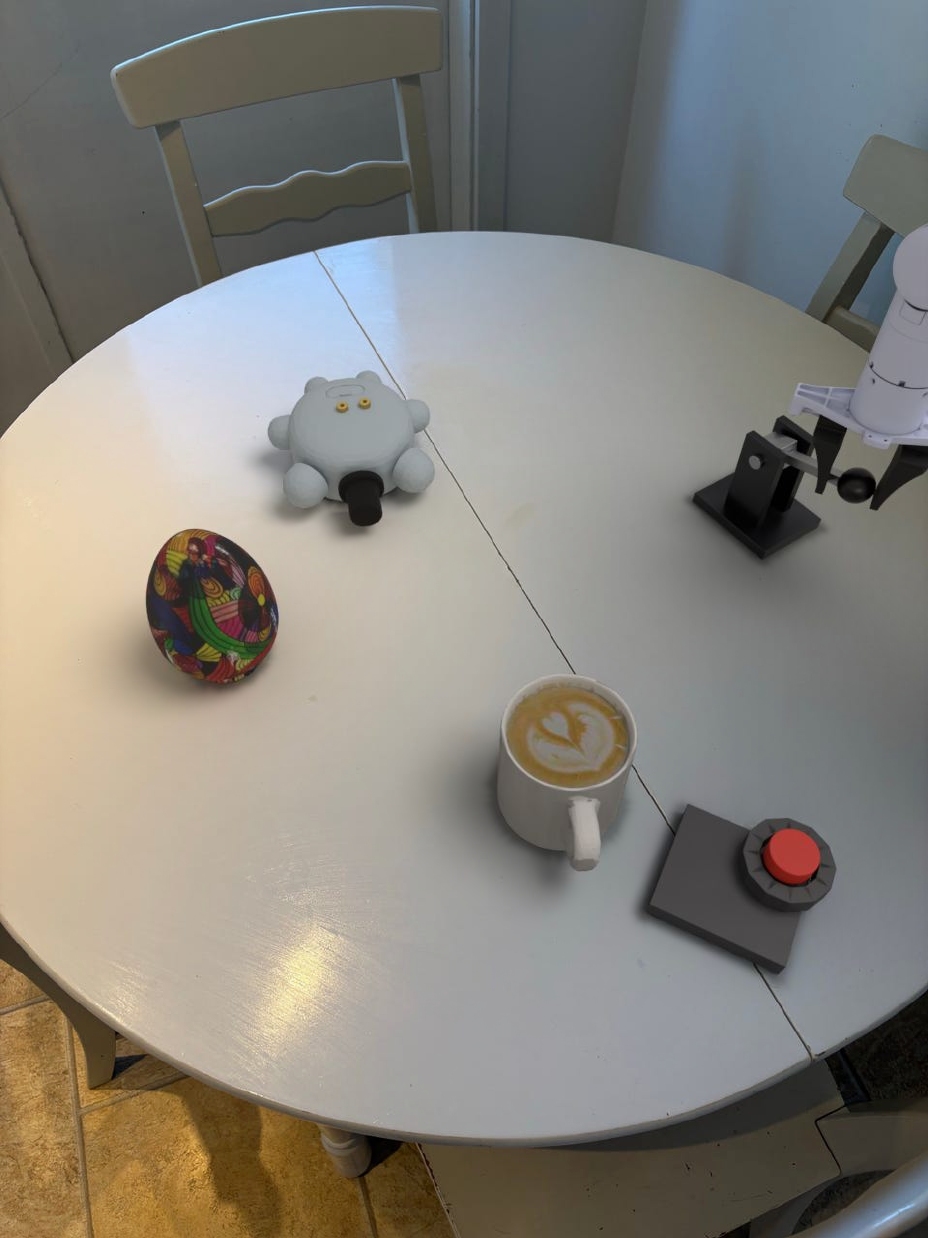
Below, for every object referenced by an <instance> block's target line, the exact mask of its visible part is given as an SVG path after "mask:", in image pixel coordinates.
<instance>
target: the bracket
mask: <svg viewBox="0 0 928 1238" xmlns="http://www.w3.org/2000/svg"><path fill="white" fill-rule="evenodd" d="M774 431H775V432H778V433H780V434H783V435H785V436H787V437H790V438H792V439H795V440H797V450H796V451H798V452H800V453H802V454H805V455H807V456H809V457H812V455H813V453H814V451H815V448H814V445H813V434H811V433H810V432H808V431H807V430H806V429H804V428H803V427H802V426H800V425H798V424H797V423H795V422H794V421H793V420H792V419H790V418H789V417H788V416H786V415H785V414H783V415H780V416H778V417H777V418H776V419H775V421H774V424H773V428H772V430H771V433H772V432H774ZM787 456H788V455H786V454H785V453H784V452H782V451H781V450H780V449H778V448H777V447H776V446H774V445H773V444H772V443H770V442H769V441H768V440H766V439H765V438H764V436H762V434H760V433H758V432H757V430H754V429H753V430H751V431H748V432H747V433H746V434H745V437H744V441H743V443H742V446H741V450H740V452H739V456H738V459H737V461H736V462H737V463H736V466H735V469H734V471H733V472H731V473H730V474H728V475H726V476H724V477H722V478H720V479H718V480H717V481H714V482H713V483H710V484H709V485H707V486H705V487H703V488H701V489H699V490H697V491H696V492H694V494H693V498H692V502H693V503H694V504H695V505H697V506H698V507H699V508H700V509H701V510H703V511H704V512H705V514H707V515H709V516H710V517H711V518H712V519H714V521H716V522H717V523H718V524H719V525H721V526H722V527H723V528H724V529H725V530H726V531H728V532H729V534H731V535H732V536H733V537H734V538H736V539H737V540H738V541H739V542H740V543H742V545H744V546H745V547H746V548H747V549H749V550H750V551H751V552H752V553H753V554H754V555H755V556H757V557H758V558H760V560H764V559H766V558H767V557H769V556H771V555H773V554H774V553H776V552H778V551H780V550H781V549H783V548H785V547H787V546H788V545H790V544H791V543H794V542H795V541H797V540H798V539H800V538H803V536H805V535H807V534H809V533H810V532H813V530H816V529H817V528H819V526H820V523H821V521H822V518H821V517H820V516H818V515H817V514H816V513H815V512H813V511H811V510H810V509H809V508H808V507H806V505H804V504H803V503H802V502H800V501H799V500H798V499H796V495H797V493H798V490H799V488H800V485H801V483H802V480H803V478H804V475H805V473H806V472H804V471H802V470H800V469H797V468H795V467H793V466H791V465H790V466H788V467H786V468H784V469H783V467H784V465H785V462H786V459H787Z"/></svg>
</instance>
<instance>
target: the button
mask: <svg viewBox="0 0 928 1238" xmlns="http://www.w3.org/2000/svg"><path fill="white" fill-rule="evenodd" d="M763 859H764V863H765V866H766V868H767V870H768V871H769V872H770V874H771V875H772V876H773V877H775V878H776V879H777V880H779V881H781V882H783V883H786V884H792V885H796V884H801V883H803V882H805V881H807V880H808V879H809V878H810V879H811V876H812V874H813V873H814V871H815V870H816V869H817V867H818V866H819V863H820V852H819V849H818V847H817V845H816V843H815V842H814V841H813V840H812V838H810V837H809V836H808V835H807V834H805V833H803V832H801V831H799V830H795V829H783V830H780V831H778V832H776V833H775V834H774V835H773V836H772V838H771V839H770V841H769V842H768V844H767V846H766V847H765V850H764V853H763Z"/></svg>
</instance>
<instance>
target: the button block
mask: <svg viewBox="0 0 928 1238" xmlns="http://www.w3.org/2000/svg"><path fill="white" fill-rule="evenodd" d="M783 829H795V830H799V831H801V832H803V833H805V834H807V835H808V836H809V837H810V838H812V840H813V841H814V842H815V843H816V845H817V847H818V849H819V852H820V863H819V866H818V867H817V869H816V870H815V871H814V873H813V874H812V875H811V877H810V878H809V879H808V880H807V881H805V882H803V883H801V884H796V885H792V884H786V883H783V882H781V881H779V880H777V879H776V878H775V877H773V876H772V875H771V874H770V872H769V871H768V870H767V868H766V866H765V863H764V859H763V853H764V850H765V847H766V846H767V844H768V842H769V841H770V839H771V838H772V836H773V835H774V834H775V833H776V832H778V831H780V830H783ZM836 872H837V865H836V863H835V859H834V857H833V854H832V851H831V848H830V846H829V844H828V843H827V842H826V841H825V840H824V839H823V838H822V836H820V835H819V834H818V833H817V831H815V829H814V828H813V827H811V826H810V825H809V826H808V825H807V824H804V823H801V822H799V821H797V820H794V819H792V818H789V817H781V818H780V817H779V818H766V819H764V820H762V821H761V822H759V823H758V824H757V825H755V826H754V827H753V828H751V829H749V828H747V827H744V826H743V825H740V824H737V823H735V822H732V821H731V820H728V819H725V818H724V817H721V816H718V815H716V814H714V813H711V812H709V811H707V810H704V809H701V808H699V807H698V806H695V805H692V804H690V803H687V804H686V807H685V809H684V811H683V814H682V816H681V819H680V822H679V824H678V827H677V830H676V831H675V835H674V837H673V840H672V843H671V844H670V848H669V851H668V853H667V855H666V857H665V861H664V864H663V865H662V869H661V871H660V874H659V877H658V879H657V882H656V884H655V887H654V890H653V892H652V895H651V898H650V901H649V903H648V905H647V908H646V911H645V912H646V913H647V914H649V915H651V916H654V917H656V918H657V919H660V920H662V921H664V922H666V923H668V924H671V925H672V926H675V927H677V928H680V929H681V930H683V931H685V932H687V933H689V934H692V935H694V936H696V937H698V938H700V939H702V940H705V941H707V942H709V943H711V944H713V945H714V946H717V947H718V948H719V947H720V948H722V949H724V950H726V951H728V952H730V953H733V954H734V955H737V956H739V957H741V958H743V959H745V960H747V961H750V962H752V963H753V964H756V965H758V966H759V967H760V966H761V967H763V968H765V969H766V970H768V971H771V972H773V973H775V974H777V975H780V974H781V973H782V972H783V970H784V969H785V968H786V967H787V964H788V959H789V957H790V952H791V948H792V945H793V942H794V938H795V935H796V932H797V927H798V924H799V919H800V915H801V912H807V911H809V910H811V908H813V907H814V906H816V905H817V904H818V903H819V902H821V901H822V900H823V899H825V897H826V896H827V895H828V894H829V893H830V892H831V890H832V888H833V884H834V881H835V877H836Z"/></svg>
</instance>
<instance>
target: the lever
mask: <svg viewBox="0 0 928 1238" xmlns="http://www.w3.org/2000/svg"><path fill="white" fill-rule="evenodd" d="M763 437H764V438H765V439H766V440H768V441H769V442H770V443H772V444H773V445H774V446H776V447H777V448H778V449H780V450H781V451H782V452H784V453H785V454H786V455H788V456H787V459H786V462H785V465H784V467H783V469H784V468H786V467H788V466H790V465H791V466H793V467H795V468H797V469H800V470H802V471H804V472H805V473H807V474H809V475H811V476H813V477H816V478H817V477H818V464H817V458H814V457H812V456H811V457H809V456H807V455H805V454H802V453H800V452H798V451H796V450H797V440H795V439H792V438H790V437H787V436H785V435H783V434H780V433H778V432H775V431H774V432H772V431H771V432H770V433H767V434H766V435H764V436H763ZM827 483H829V484H831V485H833V486H836V491H837V494H838V496H839V497H840V498H841V499H842V500H843V501H844V502H846V503H849V504H852V505H858V504H862V503H865V502H867V501H868V500H870V499H872V497H873V494H874V492H875V489H876V487H877V480H876V478H875V475H874V474H873V473H872V472H871V471H870V470H868V469H867V468H865V467H860V466H859V467H858V466H856V467H850V468H849V469H846V470H845V471H844V470H842V469H840V468H837V467H835V466H832V469H831V472H830V475H829V478H828V481H827Z"/></svg>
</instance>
